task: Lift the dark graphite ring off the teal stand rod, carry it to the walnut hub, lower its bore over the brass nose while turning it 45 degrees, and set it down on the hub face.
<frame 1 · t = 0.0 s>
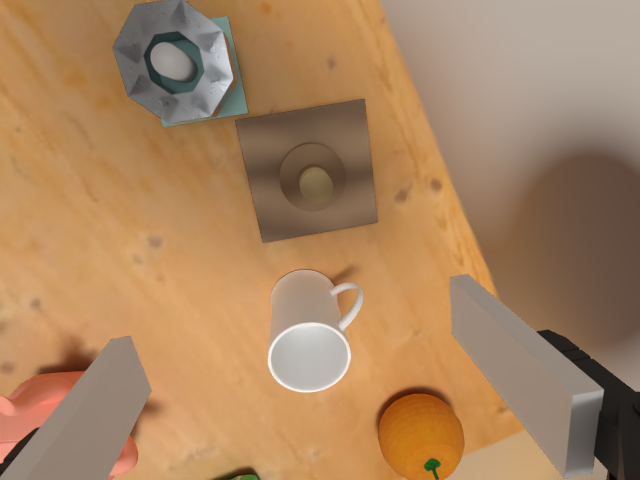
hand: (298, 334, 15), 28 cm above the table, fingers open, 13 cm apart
hub: (310, 174, 40), on the table
teapot: (90, 394, 47), on the table
stand: (195, 74, 36), on the table
clutch ring: (184, 68, 32), point 4 cm above the table, touching stand
fruit: (410, 413, 53), on the table
mug: (314, 292, 45), on the table
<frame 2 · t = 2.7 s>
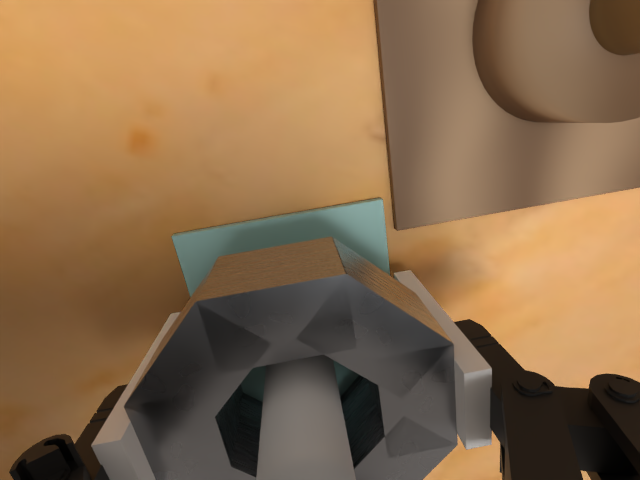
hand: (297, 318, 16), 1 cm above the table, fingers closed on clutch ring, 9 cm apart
hub: (553, 28, 14), on the table
stand: (296, 306, 17), on the table
clutch ring: (299, 360, 13), point 4 cm above the table, touching gripper, stand
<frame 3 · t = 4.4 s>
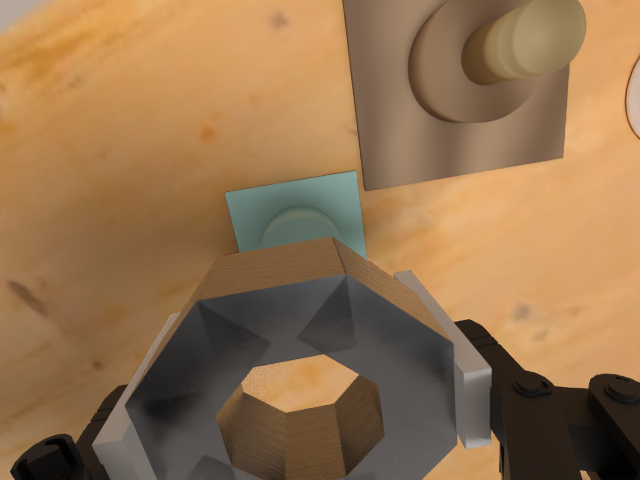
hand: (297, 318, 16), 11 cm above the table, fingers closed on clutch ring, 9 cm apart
hub: (459, 65, 23), on the table
stand: (301, 242, 26), on the table
clutch ring: (299, 359, 13), point 13 cm above the table, touching gripper
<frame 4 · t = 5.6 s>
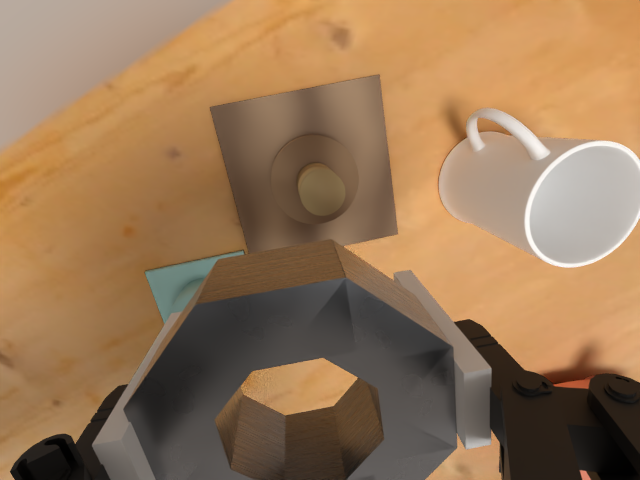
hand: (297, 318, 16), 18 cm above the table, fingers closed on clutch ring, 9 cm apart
hub: (311, 175, 31), on the table
teapot: (552, 407, 44), on the table
stand: (209, 302, 34), on the table
clutch ring: (299, 362, 13), point 20 cm above the table, touching gripper
mug: (473, 164, 33), on the table
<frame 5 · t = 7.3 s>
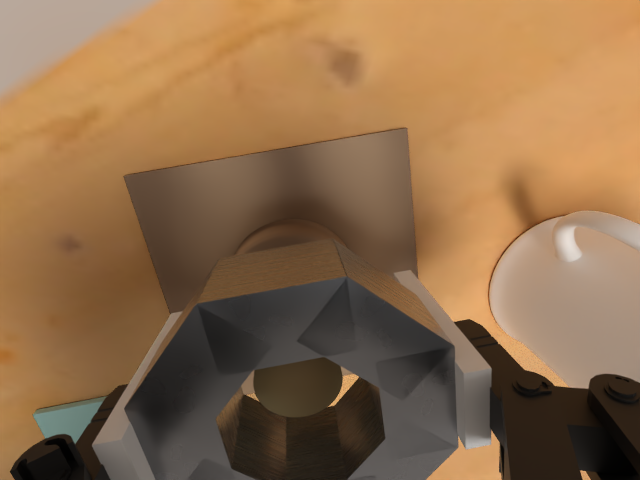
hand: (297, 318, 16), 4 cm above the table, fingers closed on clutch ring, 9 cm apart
hub: (293, 277, 20), on the table
stand: (137, 450, 23), on the table
clutch ring: (300, 361, 13), point 7 cm above the table, touching gripper
mug: (543, 260, 21), on the table
when the fingers open (1 cm above the table, at t = 8.4 s): clutch ring stays where it is, resting on hub.
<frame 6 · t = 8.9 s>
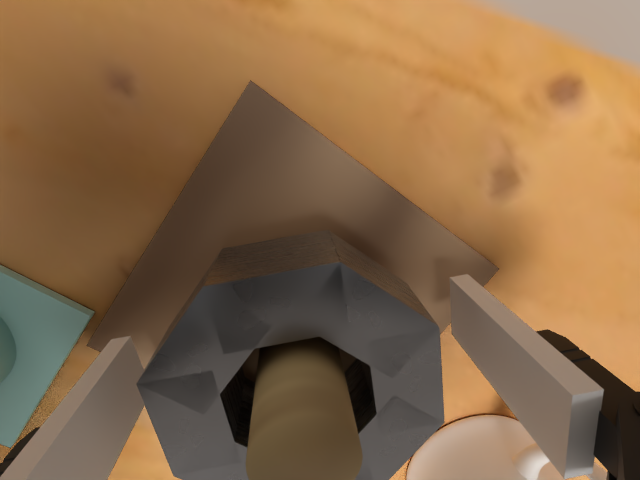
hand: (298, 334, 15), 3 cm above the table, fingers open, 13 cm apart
hub: (296, 302, 17), on the table
clutch ring: (298, 346, 14), point 3 cm above the table, touching hub
mug: (480, 445, 22), on the table
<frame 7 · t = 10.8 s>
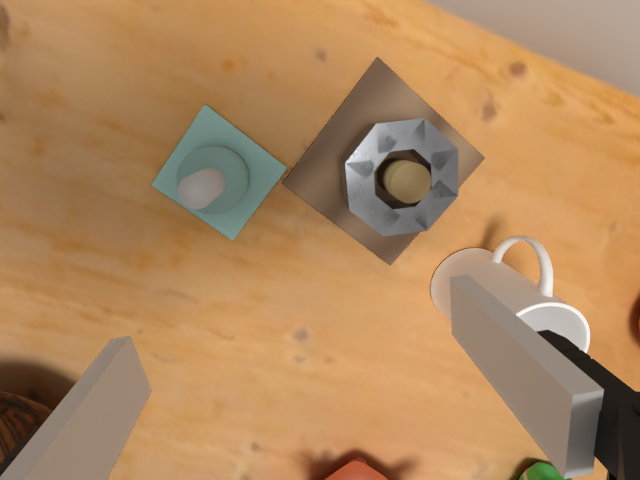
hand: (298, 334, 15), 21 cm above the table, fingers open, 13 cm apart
hub: (383, 170, 34), on the table
stand: (220, 175, 33), on the table
clutch ring: (392, 175, 31), point 3 cm above the table, touching hub
vase: (35, 421, 40), on the table
mug: (472, 270, 39), on the table
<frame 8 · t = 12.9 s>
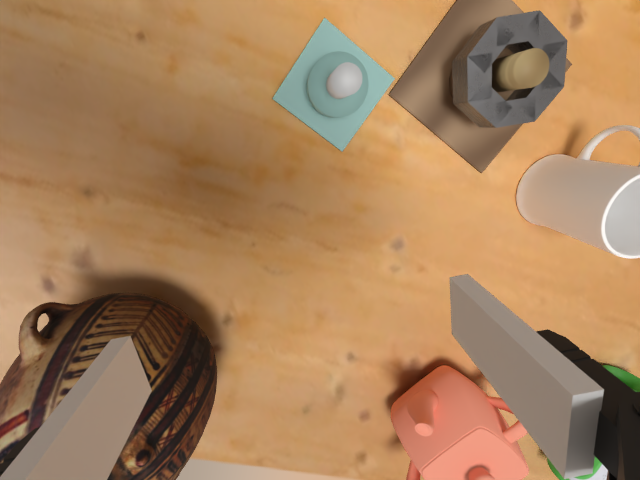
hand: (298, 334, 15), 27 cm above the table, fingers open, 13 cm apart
hub: (479, 79, 37), on the table
teapot: (432, 395, 51), on the table
stand: (333, 88, 36), on the table
clutch ring: (497, 75, 34), point 3 cm above the table, touching hub
vase: (154, 336, 44), on the table
speaker: (576, 408, 54), on the table
mug: (554, 176, 42), on the table
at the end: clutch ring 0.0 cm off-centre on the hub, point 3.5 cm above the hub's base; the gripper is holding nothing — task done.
